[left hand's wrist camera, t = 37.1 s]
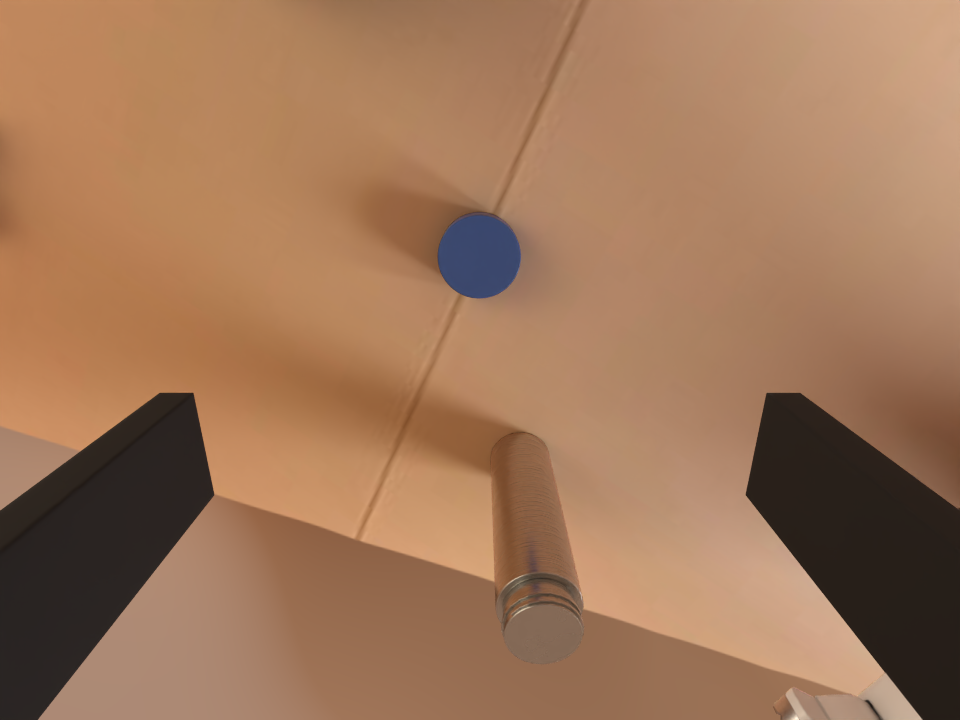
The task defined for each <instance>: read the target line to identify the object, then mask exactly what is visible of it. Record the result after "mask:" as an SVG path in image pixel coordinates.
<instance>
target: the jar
mask: <svg viewBox="0 0 960 720" xmlns="http://www.w3.org/2000/svg"><path fill="white" fill-rule="evenodd" d="M491 486H492V515H493V543H494V572H495V600H496V613H497V616H498V619H499V621H500V622H501V631H502V634H503V637H504V640H505V643H506V646H507V647H508V649H509V650H510V652H511V653H512V654H513V655H515V656H516V657H517V658H519V659H521V660H523V661H526V662H529V663H534V664H550V663H555V662H558V661H561V660H563V659H565V658H567V657H568V656H570V655H571V654H572V653H573V652H574V651H575V650H576V649H577V648H578V646H579V645H580V643H581V640H582V636H583V632H584V624H583V621H582V616H581V614H582V611H583V597H582V593H581V589H580V585H579V580H578V576H577V572H576V567H575V563H574V559H573V554H572V550H571V546H570V542H569V537H568V533H567V529H566V524H565V520H564V516H563V511H562V507H561V503H560V499H559V494H558V490H557V486H556V481H555V477H554V473H553V469H552V464H551V460H550V456H549V452H548V449H547V447H546V445H545V444H544V442H543V441H542V440H540V439H539V438H538V437H536V436H534V435H532V434H528V433H513V434H510V435H507V436H505V437H503V438H502V439H501V440H499V441H498V442H497V443H496V445H495V446H494V448H493V450H492V453H491Z"/></svg>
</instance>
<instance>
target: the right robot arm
mask: <svg viewBox="0 0 960 720" xmlns="http://www.w3.org/2000/svg"><path fill="white" fill-rule="evenodd" d="M773 708H774V710H775V712H776V713H777V714H779V715H781V720H922V719H921V717H920V716H919V715H918V714H917V712H916V711H915V710H914V709H913V707H912V706H911V705H910V703H909V702H908V701H907V700H906V698H905V697H904V696H903V695H902V693H901V692H900V691H899V689H898V688H897V687H896V686H895V684H894V683H893V682H892V681H891V679H890V678H889V677H888V675H887V674H886V673H884V674H883V675H881V676H880V677H879V678H878V679H877V680H875V681H874V682H873V683H872V684H871V685H869V686H868V687H867V688H866V689H864V690H863V691H862V692H861V693H860V694H858V695H857V696H854V695H852V694H838V695H819V696H815V697H813V696H811V695H809V694H807V693H805V692H803V691H801V690H799V689H797V688H795V687H792V688H791V689H789V690H788V691H787V692H786V693H785V694H784V695H783V696H782V697H781V698H780V699H778V700H777V701H776V702H775V703H774V704H773Z"/></svg>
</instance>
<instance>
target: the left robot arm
mask: <svg viewBox="0 0 960 720" xmlns="http://www.w3.org/2000/svg"><path fill="white" fill-rule="evenodd" d="M213 496H214V491H213V486H212V481H211V476H210V471H209V466H208V462H207V457H206V452H205V447H204V442H203V437H202V433H201V428H200V423H199V418H198V413H197V408H196V403H195V399H194V394H193V393H159V394H158V395H156V396H155V397H154V398H152V399H151V400H150V401H148V402H147V403H146V404H144V405H143V406H141V407H140V408H139V409H137V410H136V411H135V412H133V413H132V414H131V415H129V416H128V417H127V418H125V419H124V420H122V421H121V422H120V423H118V424H117V425H116V426H114V427H113V428H112V429H110V430H109V431H108V432H106V433H105V434H103V435H102V436H101V437H99V438H98V439H97V440H95V441H94V442H93V443H91V444H90V445H89V446H87V447H86V448H85V449H83V450H82V451H80V452H79V453H78V454H76V455H75V456H74V457H72V458H71V459H70V460H68V461H67V462H66V463H64V464H63V465H61V466H60V467H59V468H57V469H56V470H55V471H53V472H52V473H51V474H49V475H48V476H47V477H45V478H44V479H42V480H41V481H40V482H39V483H37V484H36V485H34V486H33V487H32V488H30V489H29V490H28V491H26V492H25V493H23V494H22V495H21V496H19V497H18V498H17V499H15V500H14V501H13V502H11V503H10V504H9V505H7V506H6V507H5V508H3V509H2V510H0V720H38V719H39V717H40V716H41V715H42V714H43V712H44V711H45V710H46V709H47V707H48V706H49V705H50V703H51V702H52V701H53V700H54V698H55V697H56V696H57V695H58V693H59V692H60V691H61V689H62V688H63V687H64V685H65V684H66V683H67V682H68V681H69V679H70V678H71V677H72V675H73V674H74V673H75V672H76V670H77V669H78V668H79V666H80V665H81V664H82V663H83V661H84V660H85V659H86V658H87V656H88V655H89V654H90V653H91V651H92V650H93V649H94V647H95V646H96V645H97V644H98V642H99V641H100V640H101V639H102V637H103V636H104V635H105V633H106V632H107V631H108V630H109V628H110V627H111V626H112V625H113V623H114V622H115V621H116V619H117V618H118V617H119V616H120V614H121V613H122V612H123V610H124V609H125V608H126V607H127V605H128V604H129V603H130V602H131V600H132V599H133V598H134V597H135V595H136V594H137V593H138V591H139V590H140V589H141V588H142V586H143V585H144V584H145V583H146V581H147V580H148V579H149V577H150V576H151V575H152V574H153V572H154V571H155V570H156V569H157V567H158V566H159V565H160V563H161V562H162V561H163V560H164V558H165V557H166V556H167V555H168V553H169V552H170V551H171V549H172V548H173V547H174V546H175V544H176V543H177V542H178V541H179V539H180V538H181V537H182V535H183V534H184V533H185V532H186V530H187V529H188V528H189V527H190V525H191V524H192V523H193V521H194V520H195V519H196V518H197V516H198V515H199V514H200V513H201V511H202V510H203V509H204V507H205V506H206V505H207V504H208V502H209V501H210V500H211V499H212V497H213ZM746 496H747V497H748V499H749V500H750V501H751V502H752V504H753V505H754V506H755V507H756V509H757V510H758V511H759V513H760V514H761V515H762V516H763V518H764V519H765V520H766V521H767V523H768V524H769V525H770V527H771V528H772V529H773V530H774V532H775V533H776V534H777V535H778V537H779V538H780V539H781V541H782V542H783V543H784V544H785V546H786V547H787V548H788V549H789V551H790V552H791V553H792V555H793V556H794V557H795V558H796V560H797V561H798V562H799V563H800V565H801V566H802V567H803V569H804V570H805V571H806V572H807V574H808V575H809V576H810V577H811V579H812V580H813V581H814V583H815V584H816V585H817V586H818V588H819V589H820V590H821V591H822V593H823V594H824V595H825V597H826V598H827V599H828V600H829V602H830V603H831V604H832V605H833V607H834V608H835V609H836V611H837V612H838V613H839V614H840V616H841V617H842V618H843V619H844V621H845V622H846V623H847V625H848V626H849V627H850V628H851V630H852V631H853V632H854V633H855V635H856V636H857V637H858V639H859V640H860V641H861V642H862V644H863V645H864V646H865V647H866V649H867V650H868V651H869V653H870V654H871V655H872V656H873V658H874V659H875V660H876V661H877V663H878V664H879V665H880V667H881V668H882V669H883V670H884V672H885V673H886V674H887V675H888V677H889V678H890V679H891V681H892V682H893V683H894V684H895V686H896V687H897V688H898V689H899V691H900V692H901V693H902V695H903V696H904V697H905V698H906V700H907V701H908V702H909V703H910V705H911V706H912V707H913V709H914V710H915V711H916V712H917V714H918V715H919V716H920V717H921V719H922V720H960V509H957V508H956V507H954V506H953V505H951V504H950V503H949V502H947V501H946V500H945V499H943V498H942V497H941V496H939V495H938V494H937V493H935V492H934V491H932V490H931V489H930V488H928V487H927V486H926V485H924V484H923V483H922V482H920V481H919V480H918V479H916V478H915V477H913V476H912V475H911V474H909V473H908V472H907V471H905V470H904V469H903V468H901V467H900V466H899V465H897V464H896V463H894V462H893V461H892V460H890V459H889V458H888V457H886V456H885V455H884V454H882V453H881V452H880V451H878V450H877V449H875V448H874V447H873V446H871V445H870V444H869V443H867V442H866V441H865V440H863V439H862V438H861V437H859V436H858V435H856V434H855V433H854V432H852V431H851V430H850V429H848V428H847V427H846V426H844V425H843V424H842V423H840V422H839V421H838V420H836V419H835V418H833V417H832V416H831V415H829V414H828V413H827V412H825V411H824V410H823V409H821V408H820V407H819V406H817V405H816V404H814V403H813V402H812V401H810V400H809V399H808V398H806V397H805V396H804V395H802V394H801V393H767V394H766V399H765V403H764V408H763V413H762V418H761V423H760V428H759V433H758V437H757V442H756V447H755V452H754V457H753V462H752V466H751V471H750V476H749V481H748V486H747V491H746Z"/></svg>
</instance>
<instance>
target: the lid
mask: <svg viewBox="0 0 960 720" xmlns="http://www.w3.org/2000/svg"><path fill="white" fill-rule="evenodd" d="M520 261H521V253H520V247H519V243H518V241H517V238H516V236H515V234H514V232H513V230H512V229H511V228H510V226H509V225H508V224H507V223H506V222H505V221H503V220H502V219H501V218H499V217H497V216H495V215H493V214H489V213H484V212H475V213H469V214H466V215H464V216H461V217H460V218H458V219H456V220H455V221H454V222H453V223H452V224H451V225H450V226H449V227H448V228H447V230H446V231H445V233H444V235H443V237H442V239H441V242H440V245H439V249H438V264H439V268H440V272H441V274H442V276H443V278H444V279H445V281H446V282H447V283H448V285H449V286H450V287H451V288H453V289H454V290H455V291H457V292H458V293H460V294H462V295H464V296H467V297H471V298H487V297H491V296H494V295H497V294H499V293H500V292H502V291H503V290H505V289H506V288H507V287H508V286H509V285H510V284H511V283H512V282H513V280H514V279H515V277H516V275H517V273H518V270H519V267H520Z"/></svg>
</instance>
